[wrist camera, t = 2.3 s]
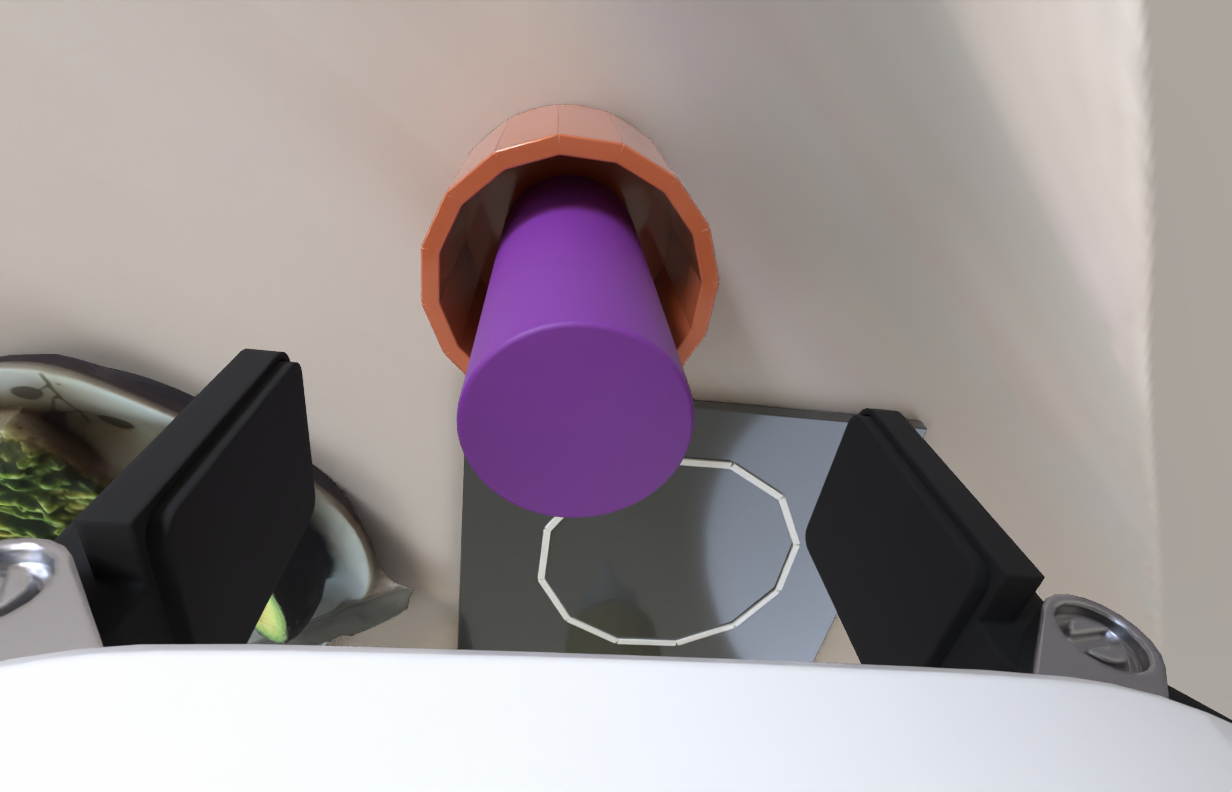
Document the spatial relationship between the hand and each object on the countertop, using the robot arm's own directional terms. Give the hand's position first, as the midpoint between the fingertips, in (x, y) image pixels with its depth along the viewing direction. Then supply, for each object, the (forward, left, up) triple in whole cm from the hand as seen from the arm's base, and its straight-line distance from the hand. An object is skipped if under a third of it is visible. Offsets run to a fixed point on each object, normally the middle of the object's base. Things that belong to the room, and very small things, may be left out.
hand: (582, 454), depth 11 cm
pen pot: (-1, 0, -12) cm, 11 cm away
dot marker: (-1, 0, -11) cm, 11 cm away
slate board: (+13, +6, -12) cm, 19 cm away
